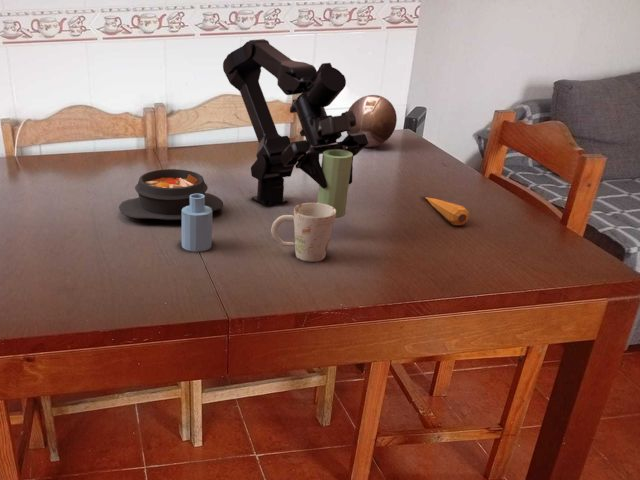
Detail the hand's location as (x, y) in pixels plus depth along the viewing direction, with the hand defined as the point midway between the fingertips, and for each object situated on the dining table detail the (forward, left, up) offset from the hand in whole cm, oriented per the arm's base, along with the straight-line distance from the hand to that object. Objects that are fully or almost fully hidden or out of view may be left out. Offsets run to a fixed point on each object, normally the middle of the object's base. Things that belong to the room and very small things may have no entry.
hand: (337, 185), depth 146 cm
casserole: (-31, -23, -12) cm, 40 cm away
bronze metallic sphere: (-51, +57, -12) cm, 78 cm away
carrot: (+1, +33, -12) cm, 35 cm away
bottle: (-11, -28, -12) cm, 32 cm away
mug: (+4, -12, -12) cm, 17 cm away
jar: (-1, 0, -7) cm, 7 cm away
